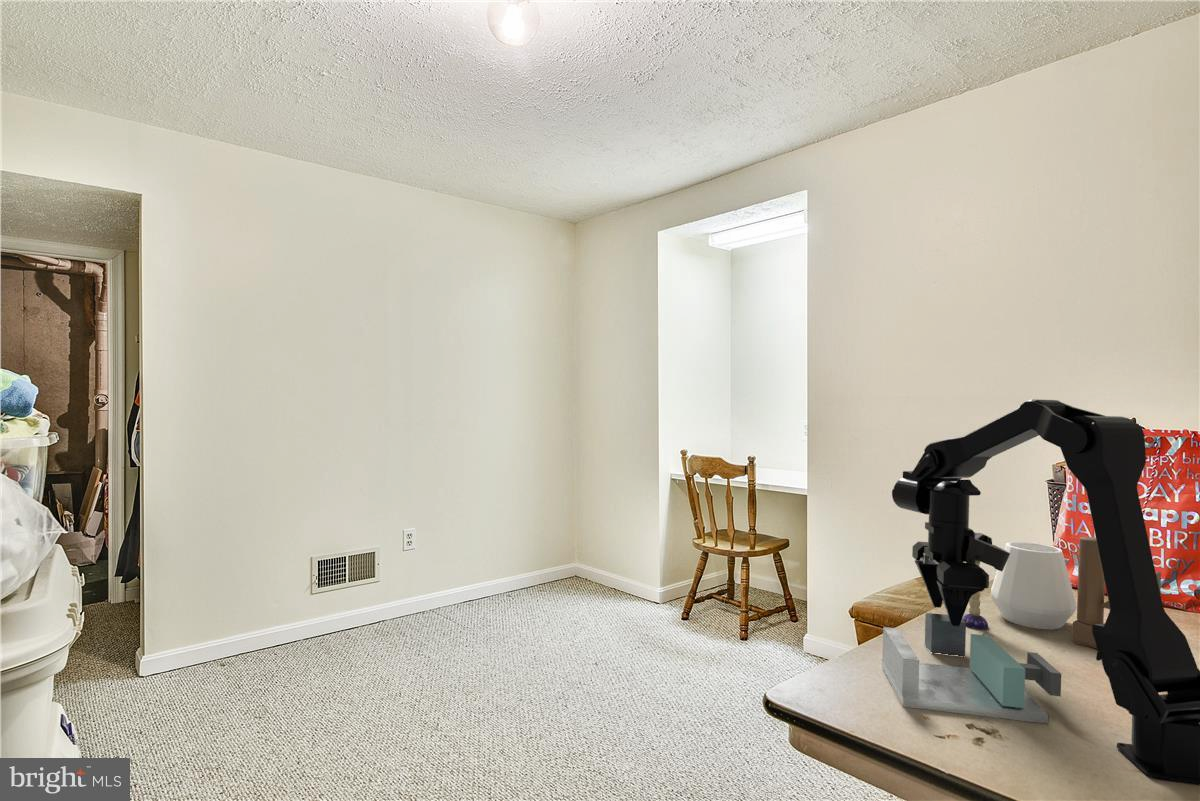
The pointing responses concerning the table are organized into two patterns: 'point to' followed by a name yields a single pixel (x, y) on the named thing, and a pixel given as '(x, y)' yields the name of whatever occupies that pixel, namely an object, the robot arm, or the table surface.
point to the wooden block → (1090, 592)
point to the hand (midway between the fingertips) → (946, 616)
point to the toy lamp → (975, 611)
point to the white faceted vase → (1034, 586)
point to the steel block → (944, 635)
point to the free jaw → (1010, 671)
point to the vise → (945, 685)
